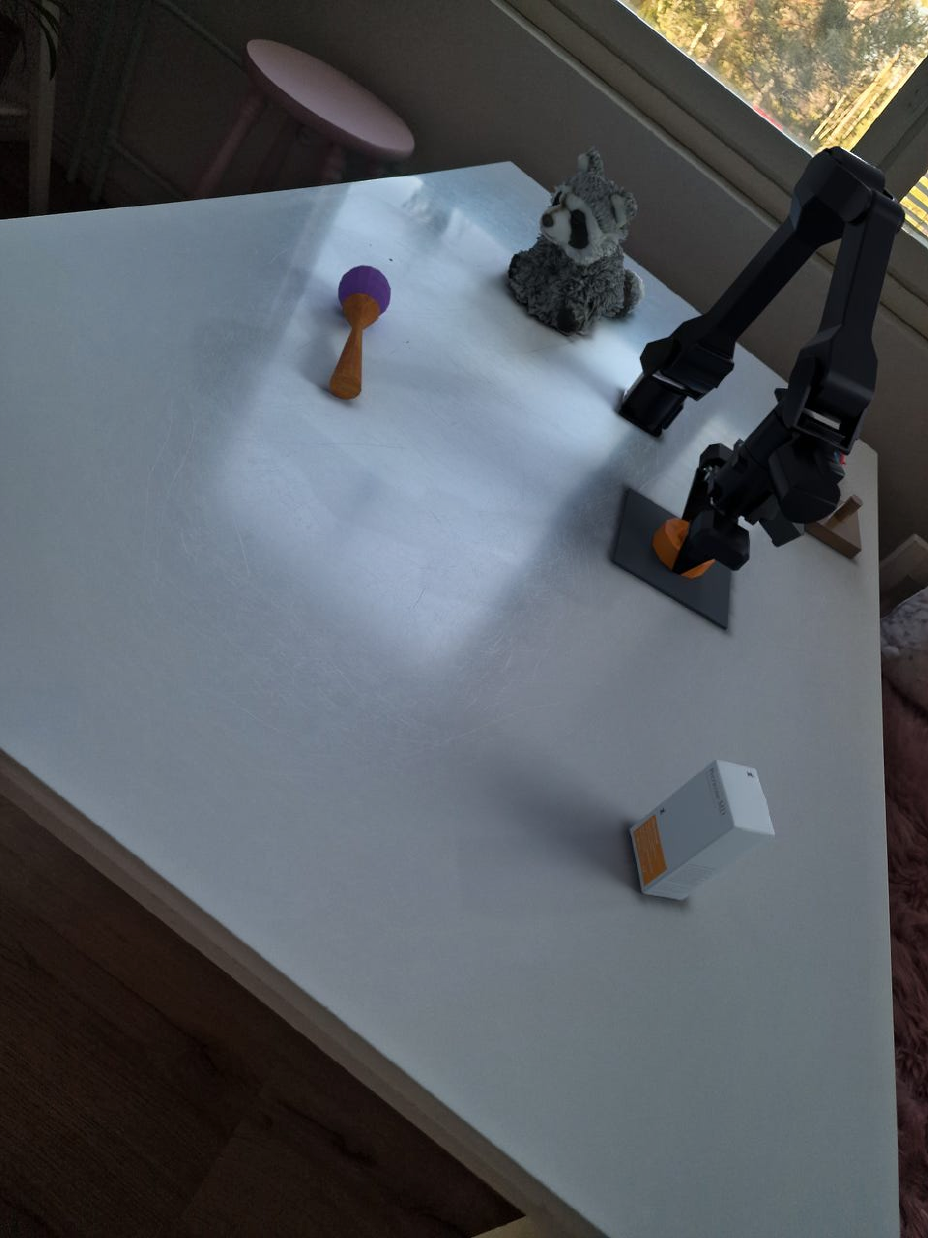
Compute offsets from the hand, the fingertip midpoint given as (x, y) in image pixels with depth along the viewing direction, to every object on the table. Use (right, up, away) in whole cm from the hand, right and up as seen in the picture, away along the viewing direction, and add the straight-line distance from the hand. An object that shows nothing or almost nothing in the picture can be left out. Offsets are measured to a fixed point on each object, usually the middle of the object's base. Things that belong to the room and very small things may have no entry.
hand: (678, 553), depth 114 cm
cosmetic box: (-9, -28, -31) cm, 43 cm away
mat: (0, 0, 0) cm, 1 cm away
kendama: (-37, +22, -4) cm, 44 cm away
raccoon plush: (-10, +39, +31) cm, 51 cm away
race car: (+29, +16, +36) cm, 49 cm away
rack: (+24, +7, +24) cm, 34 cm away
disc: (0, 0, 0) cm, 0 cm away
